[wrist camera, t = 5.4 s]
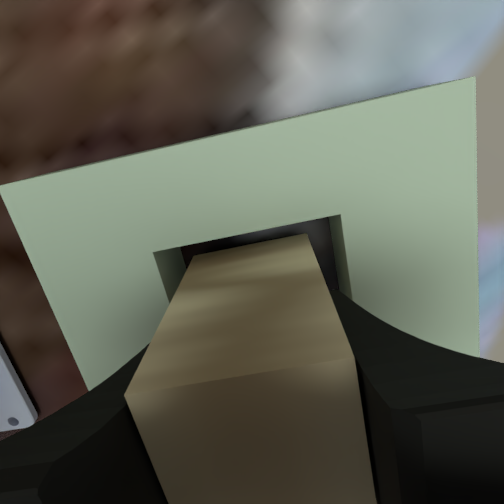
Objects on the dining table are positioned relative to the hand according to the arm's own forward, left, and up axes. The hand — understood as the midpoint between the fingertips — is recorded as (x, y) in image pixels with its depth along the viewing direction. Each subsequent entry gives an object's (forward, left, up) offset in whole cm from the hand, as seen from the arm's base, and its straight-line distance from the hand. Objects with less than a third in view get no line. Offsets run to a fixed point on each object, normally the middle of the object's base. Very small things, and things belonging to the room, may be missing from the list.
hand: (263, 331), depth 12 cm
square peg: (0, 0, -2) cm, 2 cm away
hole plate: (0, 0, -4) cm, 4 cm away
